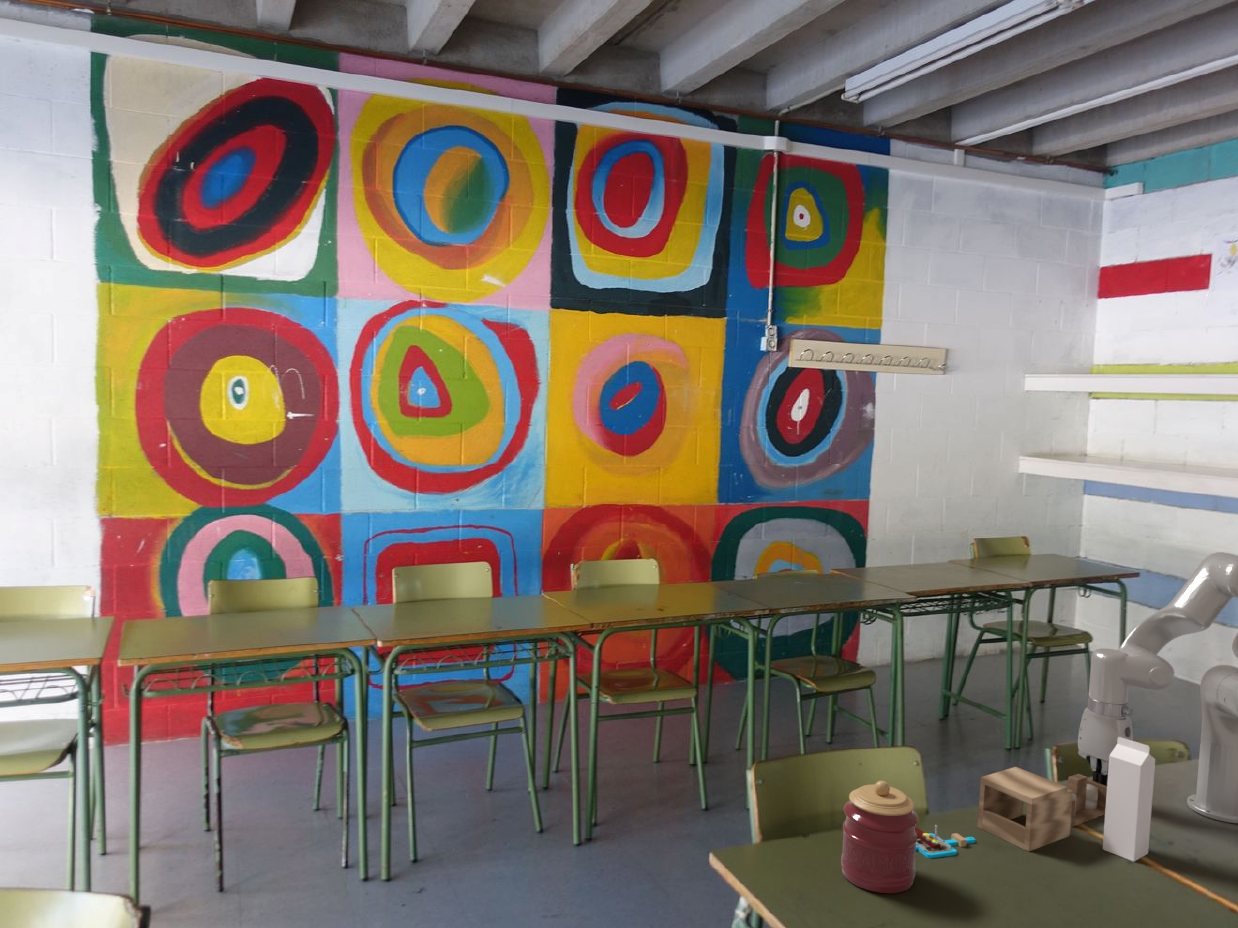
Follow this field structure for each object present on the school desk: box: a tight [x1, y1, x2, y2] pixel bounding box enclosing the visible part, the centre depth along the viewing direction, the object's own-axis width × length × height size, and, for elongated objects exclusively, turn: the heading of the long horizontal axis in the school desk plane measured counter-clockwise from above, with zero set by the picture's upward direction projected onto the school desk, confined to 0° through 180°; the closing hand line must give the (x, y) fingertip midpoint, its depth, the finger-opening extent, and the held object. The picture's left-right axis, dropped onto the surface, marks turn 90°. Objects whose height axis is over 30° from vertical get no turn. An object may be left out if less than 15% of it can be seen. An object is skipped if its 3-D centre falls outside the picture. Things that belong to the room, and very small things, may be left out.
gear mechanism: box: [915, 824, 977, 859], centre depth 182 cm, size 20×5×9 cm
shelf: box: [977, 766, 1073, 852], centre depth 189 cm, size 14×12×10 cm
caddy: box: [1067, 773, 1107, 828], centre depth 198 cm, size 14×7×8 cm, turn 122°
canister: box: [840, 780, 919, 894], centre depth 168 cm, size 13×13×18 cm
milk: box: [1102, 737, 1156, 863], centre depth 181 cm, size 6×6×22 cm
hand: (1100, 789), depth 203 cm, fingers closed
